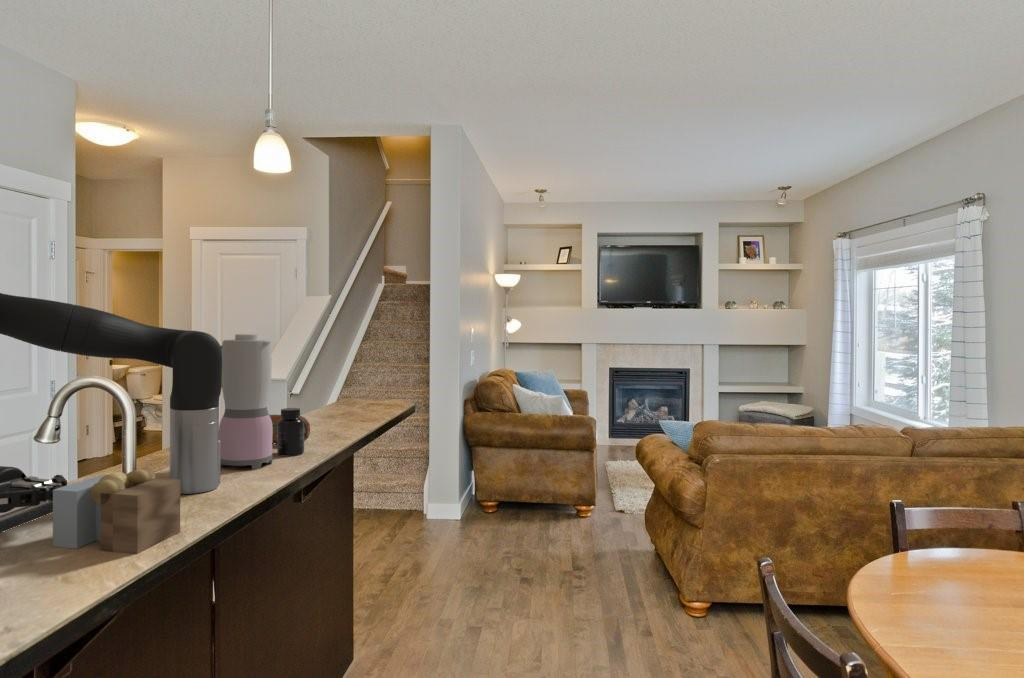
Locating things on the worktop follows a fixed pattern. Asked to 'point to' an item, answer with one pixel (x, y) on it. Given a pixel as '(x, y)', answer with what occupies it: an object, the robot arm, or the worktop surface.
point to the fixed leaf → (137, 511)
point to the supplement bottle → (290, 432)
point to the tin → (277, 417)
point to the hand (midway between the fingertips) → (76, 494)
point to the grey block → (78, 512)
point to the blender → (246, 402)
